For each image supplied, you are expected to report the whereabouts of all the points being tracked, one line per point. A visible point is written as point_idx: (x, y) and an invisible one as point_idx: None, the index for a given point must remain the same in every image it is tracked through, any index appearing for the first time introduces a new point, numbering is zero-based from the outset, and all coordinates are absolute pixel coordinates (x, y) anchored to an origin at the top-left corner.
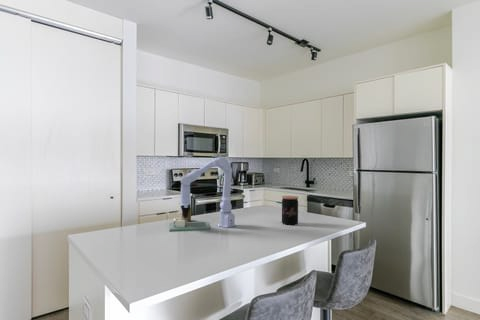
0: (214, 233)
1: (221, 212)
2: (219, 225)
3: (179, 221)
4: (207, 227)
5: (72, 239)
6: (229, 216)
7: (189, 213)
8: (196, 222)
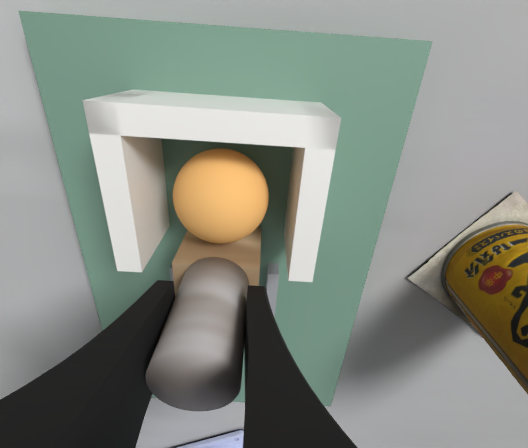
0: (10, 384)
1: None
2: (216, 438)
3: (109, 195)
4: None
5: None
6: None
7: (510, 369)
8: None
